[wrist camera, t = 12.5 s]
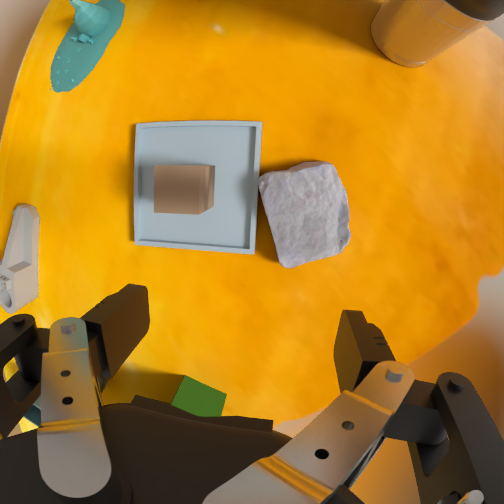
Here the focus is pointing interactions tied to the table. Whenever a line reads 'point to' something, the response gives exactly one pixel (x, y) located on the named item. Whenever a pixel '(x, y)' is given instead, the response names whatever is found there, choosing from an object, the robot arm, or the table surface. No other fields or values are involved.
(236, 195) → the dish
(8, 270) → the sloped support bracket
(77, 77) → the diorama
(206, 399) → the hardback book
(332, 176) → the stone block
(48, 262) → the table surface
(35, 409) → the flower pot
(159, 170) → the walnut block
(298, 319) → the table surface
